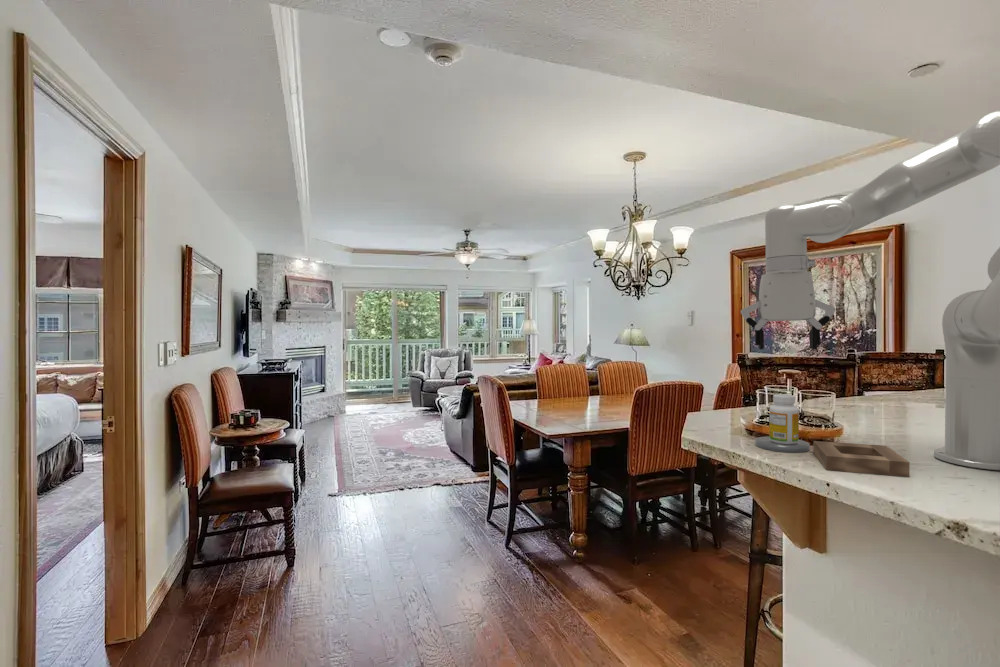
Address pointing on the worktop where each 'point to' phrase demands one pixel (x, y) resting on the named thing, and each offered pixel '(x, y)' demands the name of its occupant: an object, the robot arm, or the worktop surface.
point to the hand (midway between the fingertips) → (786, 348)
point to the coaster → (782, 445)
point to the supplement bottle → (784, 420)
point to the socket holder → (860, 458)
